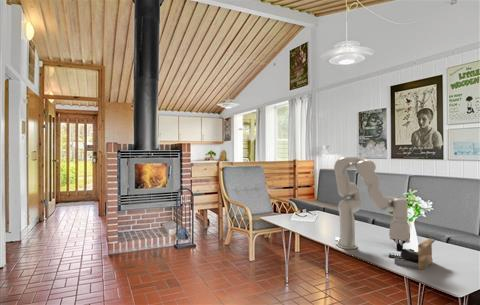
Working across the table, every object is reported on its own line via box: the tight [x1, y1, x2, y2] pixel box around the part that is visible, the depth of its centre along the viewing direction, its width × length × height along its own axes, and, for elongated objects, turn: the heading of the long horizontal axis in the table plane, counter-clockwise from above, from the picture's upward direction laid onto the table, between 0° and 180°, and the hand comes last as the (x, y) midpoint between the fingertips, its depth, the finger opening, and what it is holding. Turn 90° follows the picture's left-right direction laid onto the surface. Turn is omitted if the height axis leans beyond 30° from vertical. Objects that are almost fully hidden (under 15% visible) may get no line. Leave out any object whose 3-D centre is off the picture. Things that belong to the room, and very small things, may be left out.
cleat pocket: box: [394, 257, 419, 270], centre depth 172 cm, size 12×18×3 cm, turn 133°
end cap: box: [400, 248, 418, 263], centre depth 172 cm, size 10×7×7 cm
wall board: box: [417, 238, 436, 271], centre depth 166 cm, size 3×18×13 cm, turn 133°
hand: (399, 250), depth 177 cm, fingers closed
